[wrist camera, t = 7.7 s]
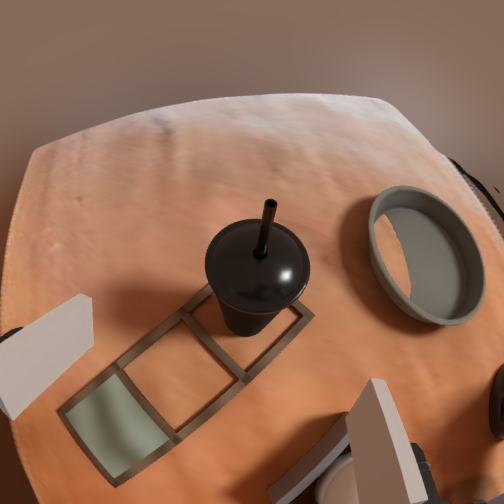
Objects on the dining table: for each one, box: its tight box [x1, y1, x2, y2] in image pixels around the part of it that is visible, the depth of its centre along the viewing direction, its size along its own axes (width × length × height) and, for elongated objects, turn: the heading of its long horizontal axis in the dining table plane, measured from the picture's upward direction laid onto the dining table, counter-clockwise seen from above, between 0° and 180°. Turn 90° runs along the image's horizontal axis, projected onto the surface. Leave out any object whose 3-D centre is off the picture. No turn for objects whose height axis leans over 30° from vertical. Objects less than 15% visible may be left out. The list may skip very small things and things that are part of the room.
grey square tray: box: [266, 412, 430, 504], centre depth 19 cm, size 13×13×5 cm
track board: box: [57, 285, 315, 488], centre depth 27 cm, size 32×12×1 cm, turn 135°
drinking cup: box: [205, 199, 310, 337], centre depth 23 cm, size 8×8×20 cm
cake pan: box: [368, 186, 486, 326], centre depth 36 cm, size 25×25×4 cm
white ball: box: [314, 452, 359, 504], centre depth 17 cm, size 9×9×9 cm
